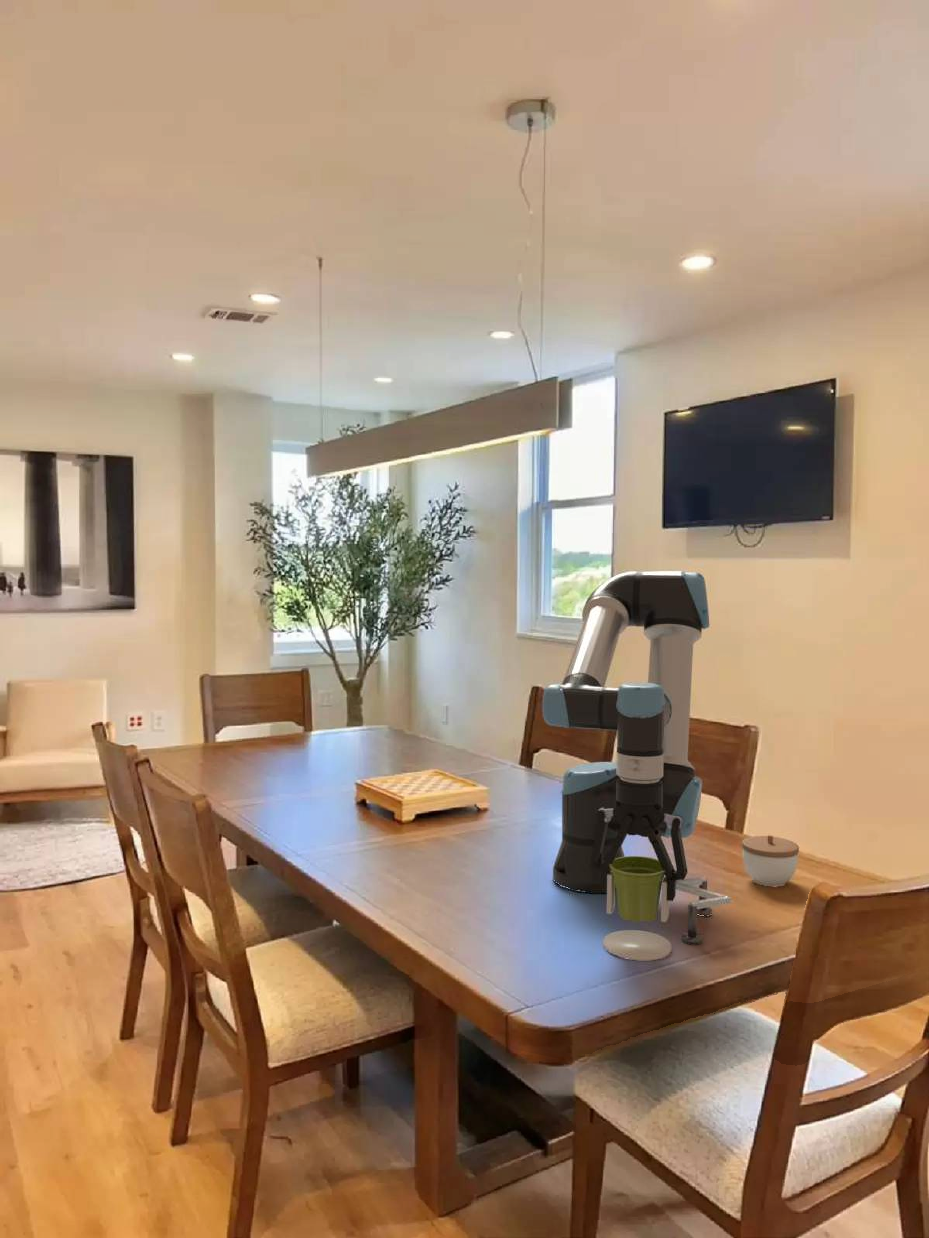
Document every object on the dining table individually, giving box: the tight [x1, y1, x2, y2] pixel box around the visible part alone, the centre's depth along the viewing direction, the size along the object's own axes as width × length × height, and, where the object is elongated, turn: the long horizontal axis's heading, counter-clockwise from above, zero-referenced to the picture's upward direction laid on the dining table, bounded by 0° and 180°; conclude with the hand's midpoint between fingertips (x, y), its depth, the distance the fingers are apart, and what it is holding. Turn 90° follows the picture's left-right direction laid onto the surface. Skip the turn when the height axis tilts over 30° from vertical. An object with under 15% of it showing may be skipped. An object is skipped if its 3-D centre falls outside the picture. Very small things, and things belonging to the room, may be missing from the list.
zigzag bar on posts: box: [676, 876, 732, 945], centre depth 158 cm, size 11×16×7 cm
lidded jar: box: [741, 834, 800, 887], centre depth 181 cm, size 11×11×9 cm
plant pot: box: [609, 855, 665, 923], centre depth 149 cm, size 9×9×9 cm
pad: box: [603, 929, 672, 962], centre depth 150 cm, size 11×11×1 cm
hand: (637, 914), depth 149 cm, fingers closed on plant pot, 8 cm apart
